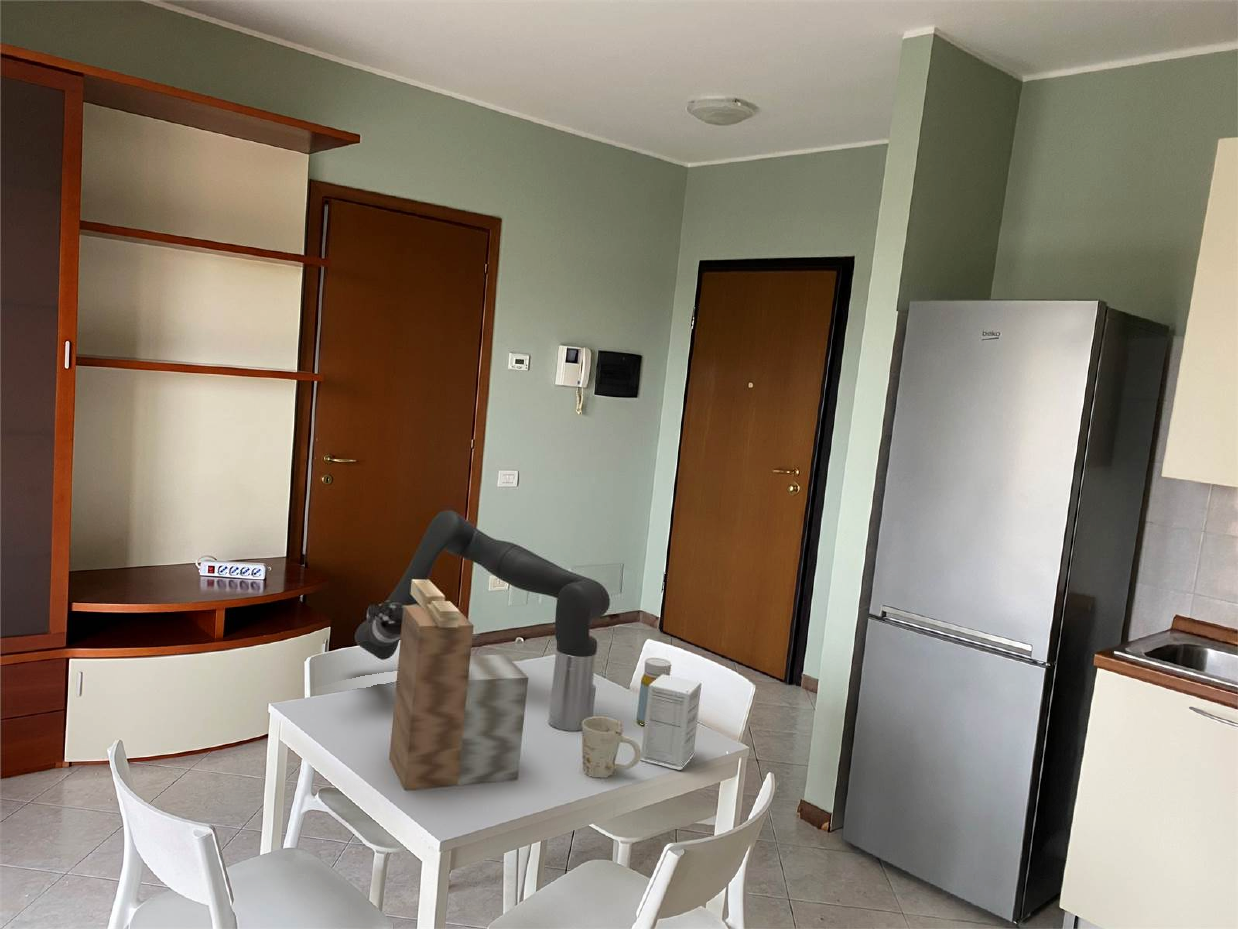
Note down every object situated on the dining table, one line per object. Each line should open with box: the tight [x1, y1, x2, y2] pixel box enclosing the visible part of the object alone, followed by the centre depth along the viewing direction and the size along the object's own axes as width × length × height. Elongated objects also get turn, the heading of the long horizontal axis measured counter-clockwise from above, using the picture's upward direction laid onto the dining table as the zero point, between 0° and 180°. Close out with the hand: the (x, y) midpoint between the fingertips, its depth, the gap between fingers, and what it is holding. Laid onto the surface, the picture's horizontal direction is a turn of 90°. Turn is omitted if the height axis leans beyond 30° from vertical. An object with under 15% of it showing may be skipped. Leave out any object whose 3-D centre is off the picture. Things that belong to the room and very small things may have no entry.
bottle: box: [636, 657, 672, 725], centre depth 213 cm, size 7×7×15 cm
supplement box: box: [640, 674, 702, 767], centre depth 193 cm, size 10×9×17 cm
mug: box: [581, 716, 642, 778], centre depth 183 cm, size 8×13×10 cm, turn 82°
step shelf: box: [388, 604, 529, 791], centre depth 176 cm, size 22×14×31 cm, turn 116°
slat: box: [410, 579, 461, 627], centre depth 176 cm, size 4×24×3 cm, turn 25°
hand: (408, 604), depth 194 cm, fingers open, 8 cm apart
